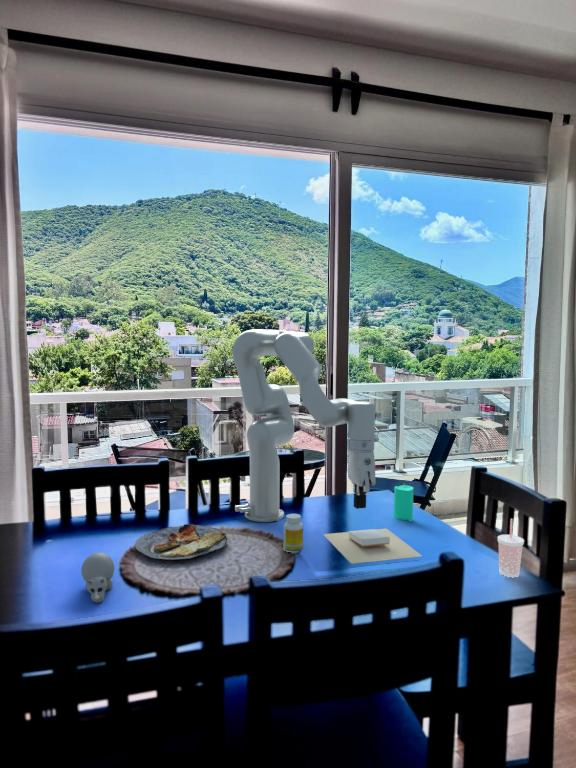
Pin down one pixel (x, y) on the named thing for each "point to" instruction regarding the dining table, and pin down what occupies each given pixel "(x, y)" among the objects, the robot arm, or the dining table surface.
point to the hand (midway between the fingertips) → (359, 507)
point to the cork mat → (371, 548)
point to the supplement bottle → (293, 534)
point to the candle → (403, 502)
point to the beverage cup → (510, 554)
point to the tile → (369, 537)
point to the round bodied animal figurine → (98, 575)
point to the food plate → (181, 541)
